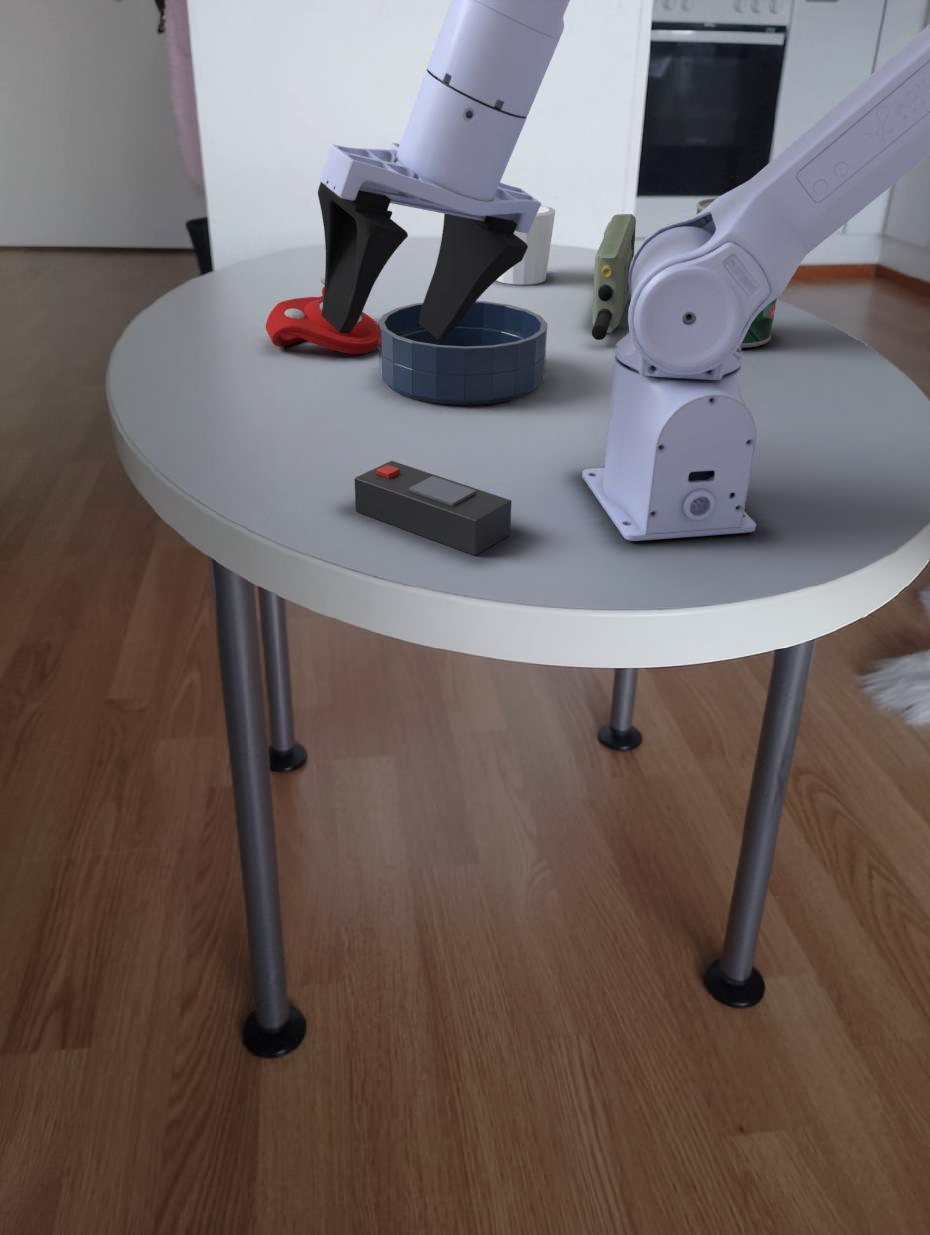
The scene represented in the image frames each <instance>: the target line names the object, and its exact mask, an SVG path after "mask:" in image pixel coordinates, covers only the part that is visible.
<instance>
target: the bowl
mask: <svg viewBox="0 0 930 1235" xmlns="http://www.w3.org/2000/svg"><path fill="white" fill-rule="evenodd" d="M422 305H423V302H417V303H411V304H407V305H403V306H400V307H396V308H394V309H392V310H390V311H388V312H386V313H384V314H382V315H381V317H380V319H379V320H378V321H377V324H378V340H379V345H378V365H379V366H378V370H379V372H378V373H379V374H380V377H381V380H382V381H383V382H385V383H386V384H387V385H388V386H389V387H390V388H391V389H392V390H394V391H395V392H397V393H399V394H401V395H403V396H405V397H407V398H408V397H409V398H411V399H414V400H418V401H423V402H426V403H432V404H441V405H451V406H452V405H453V406H478V405H479V406H480V405H481V406H482V405H490V404H497V403H503V402H508V401H511V400H516V399H518V398H521V397H523V396H525V395H527V394H529V393H531V392H532V391H533V390H534V389H535V388H537V387H538V386H539V385H540V384H542V383H543V382H544V379H545V374H546V358H547V357H546V356H547V341H548V325H549V324H548V322H547V321H546V320H545V319H544V318H543V317H542V315H540V314H538V313H535V312H533V311H531V310H529V309H526V308H523V307H519V306H515V305H511V304H507V303H500V302H493V301H484V300H476V302H475V303H474V304H473V305H472V306H471V308H470V309H469V310H468V311H467V313H466V314H465V315H464V317H463V318H462V319H461V321H460V322H459V323H458V325H457V326H456V327H455V329H454V330H453V331H452V332H451V334H450V335H449V336H448V337H447V339H446V340H445V341H444V340H438V339H436V338H435V337H434V336H433V335H432V334H431V333H429V332H428V331H427V330H426V329H425V328H424V327H422V326H421V325H420V324H419V319H420V313H421V309H422Z"/></svg>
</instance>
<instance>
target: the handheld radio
mask: <svg viewBox="0 0 930 1235" xmlns="http://www.w3.org/2000/svg"><path fill="white" fill-rule="evenodd" d="M636 227H637V218H636V217H635V215H634V214H633V213H621V214H620V213H618V214H614V215H613V216H612V217H611V219H610V221H609V222H608V223H607V225H606V227H605V229H604V232H603V238H602V240H601V243H600V245H599V247H598V249H597V252H596V254H595V257H594V270H593V272H594V274H593V299H592V326H593V327H592V330H591V335H592V338H593V339H594V340H597V341H602V340H604V339H605V338H606V337H607V334H612V333H613V331H614V330H615V329H616V328H618V327H619V325H620V322H621V320H622V317H623V313H624V310H625V308H626V307H627V304H628V300H629V296H630V292H629V282H628V280H629V270H630V265H631V262H632V259H633V257H634V254H635V247H636V246H635V243H636V229H637V228H636Z"/></svg>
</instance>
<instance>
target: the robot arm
mask: <svg viewBox="0 0 930 1235" xmlns="http://www.w3.org/2000/svg"><path fill="white" fill-rule="evenodd" d="M570 1H571V0H450V3H449V5H448V8H447V11H446V14H445V16H444V19H443V22H442V25H441V27H440V31H439V33H438V35H437V38H436V42H435V44H434V47H433V50H432V52H431V55H430V58H429V61H428V64H427V67H426V70H425V73H424V75H423V78H422V81H421V84H420V87H419V89H418V92H417V94H416V98H415V101H414V103H413V105H412V108H411V111H410V115H409V117H408V120H407V122H406V126H405V128H404V131H403V134H402V137H401V140H400V141H399V143H398V142H392V143H391V144H390V147H389V149H383V148H381V149H380V148H359V147H350V146H348V147H347V146H342V145H337V144H334V143H332V144H331V145H330V148H329V151H328V154H327V157H326V160H325V163H324V166H323V169H322V173H321V175H320V179H319V186H318V188H317V189H318V190H317V197H318V200H319V201H318V202H319V206H320V211H321V219H322V224H323V225H322V226H323V233H324V244H325V247H324V248H325V273H324V279H325V285H323V287H324V297H323V306H322V317H323V318H324V319H325V320H326V321H328V322H329V323H330V324H331V325H332V326H333V327H334V328H335V329H336V330H337V331H338V332H340V333H346V334H350V333H351V331H352V330H353V328H354V327H355V325H356V323H357V322H358V320H359V318H360V316H361V313H362V312H364V308H365V306H366V303H367V302H368V299H369V297H370V294H371V292H372V290H373V287H374V285H375V283H376V282H377V280H378V278H379V276H380V274H381V272H382V271H383V269H384V268H385V265H387V263H388V261H389V260H390V259H391V258H392V256H393V255H394V253H395V252H396V251H397V250H398V248H399V247H400V246H401V245H402V244H403V243H404V241H406V239H407V238H408V237H409V234H408V232H407V231H406V230H405V229H404V228H403V227H401V225H399V224H398V223H397V222H395V221H394V220H393V219H392V215H393V211H392V210H389V207H390V204H393V205H398V206H403V207H408V208H414V209H419V210H425V211H429V212H435V213H439V214H443V226H442V234H441V241H440V244H439V245H440V246H439V251H438V255H437V260H436V264H435V267H434V271H433V274H432V277H431V279H430V282H429V285H428V287H427V291H426V294H425V297H424V300H423V302H422V303H423V305H422V309H421V313H420V319H419V324H420V325H421V326H422V327H424V328H425V329H426V330H427V331H428V332H429V333H431V334H432V335H433V336H434V337H435V338H436V339H438V340H444V341H445V340H446V339H447V337H448V336H449V335H450V334H451V332H452V331H453V330H454V329H455V327H456V326H457V325H458V323H459V322H460V321H461V319H462V318H463V317H464V315H465V314H466V313H467V311H468V310H469V309H470V308H471V306H472V305H473V304H474V303H475V302H476V301H478V299H479V298H480V297H481V296H482V295H483V294H484V293H485V292H486V291H487V290H488V289H489V287H491V285H493V284H494V283H495V282H497V281H496V280H497V279H498V278H499V277H500V276H501V275H503V274H504V273H505V272H506V271H508V270H509V269H510V268H512V267H513V266H515V265H516V264H518V263H519V262H521V261H522V259H523V257H524V255H525V253H526V250H527V248H528V246H527V244H526V243H525V242H524V241H523V240H521V239H520V238H519V237H517V236H516V235H515V234H514V232H515V231H518V232H522V233H528V232H529V230H530V228H531V226H532V223H533V221H534V219H535V217H536V215H537V212H538V210H539V208H540V206H541V205H542V202H540V201H539V200H538V199H536V198H535V197H534V196H532V195H531V194H529V193H528V192H526V191H525V190H524V189H522V188H520V187H517V186H513V185H509V184H507V183H503V182H501V181H502V179H503V176H504V174H505V172H506V169H507V166H508V164H509V162H510V160H511V157H512V155H513V152H514V150H515V147H516V145H517V143H518V140H519V138H520V136H521V133H522V131H523V129H524V126H525V124H526V121H527V119H528V116H529V114H530V111H531V108H532V106H533V104H534V102H535V100H536V97H537V94H538V92H539V89H540V88H541V85H542V82H543V80H544V78H545V75H546V73H547V70H548V68H549V66H550V64H551V61H552V59H553V57H554V54H555V52H556V49H557V47H558V45H559V42H560V40H561V37H562V35H563V32H564V29H565V20H564V16H565V14H566V11H567V9H568V6H569V4H570ZM929 157H930V23H929V24H927V25H926V26H925V27H924V28H923V29H922V30H920V31H919V33H917V34H916V35H915V36H914V37H913V38H911V39H910V41H908V42H907V43H906V44H904V46H903V47H902V48H900V49H899V50H898V51H897V52H896V53H894V54H893V55H892V56H891V57H890V58H889V59H888V60H886V61H885V62H883V64H882V65H880V67H878V68H877V69H876V70H875V71H873V73H871V74H870V75H869V76H868V77H867V78H866V79H864V81H862V82H861V83H860V84H859V85H857V87H855V88H854V89H853V90H852V91H850V93H848V94H847V95H846V96H845V97H844V98H843V99H841V100H840V101H839V102H838V103H837V104H836V105H835V106H833V107H832V108H831V109H830V110H828V112H826V113H825V114H824V115H823V116H821V118H820V119H819V120H817V121H816V122H815V123H814V124H813V125H812V126H810V127H809V128H808V129H807V130H805V131H804V132H803V133H802V134H801V135H800V136H799V137H798V138H797V139H795V140H794V141H793V142H791V144H790V145H789V146H787V147H786V148H785V149H784V150H783V151H781V152H780V154H778V155H777V156H776V157H775V158H774V159H773V160H771V161H770V162H769V163H767V165H765V166H764V167H763V168H762V169H761V170H759V171H758V172H757V173H756V174H755V175H754V176H753V177H751V178H750V179H749V180H747V181H745V182H744V183H742V184H739V185H738V186H736V187H734V188H732V189H731V190H729V191H727V192H724V193H723V194H721V195H720V196H718V197H716V198H717V199H715V200H714V201H713V202H712V203H711V204H710V205H709V206H707V207H706V208H705V209H704V210H703V211H701V212H700V213H698V214H697V213H696V214H697V215H696V214H695V215H693V216H692V217H689V218H686V219H684V220H683V219H682V220H680V221H675V222H672V223H668V224H665V225H663V226H661V227H659V228H658V229H656V230H654V231H653V232H651V233H650V234H649V235H648V236H647V237H646V238H645V239H644V240H643V241H642V242H641V244H640V245H639V246H638V248H637V249H636V251H635V252H634V257H633V259H632V262H631V265H630V270H629V280H628V282H629V292H630V293H629V295H630V303H629V305H628V312H627V313H628V314H627V324H628V330H629V332H628V333H627V334H626V335H625V336H623V337H622V338H621V339H619V341H617V342H616V344H615V347H614V360H613V372H612V381H611V393H610V403H609V404H610V405H609V413H608V424H607V437H606V447H605V456H604V457H605V458H604V467H596V468H593V467H592V468H585V469H583V470H582V474H581V477H582V479H583V480H584V482H585V483H586V485H587V486H588V488H589V489H590V490H591V492H592V493H593V495H594V496H595V498H596V499H597V501H598V503H600V505H601V506H602V508H603V510H604V511H605V512H606V514H607V515H608V518H610V519H611V521H612V523H613V524H614V525H615V527H616V528H617V530H618V531H619V533H620V534H621V536H622V537H623V538H624V539H625V541H630V542H640V541H653V540H669V539H681V538H694V537H707V536H721V535H736V534H747V533H749V534H750V533H754V532H755V531H756V528H757V523H756V522H755V521H754V520H753V519H752V518H751V517H750V516H749V514H747V512H746V510H745V508H746V503H747V496H748V491H749V485H750V480H751V475H752V474H751V473H752V468H753V461H754V456H755V451H756V445H757V436H758V434H757V433H758V432H757V426H756V420H755V418H754V416H753V413H752V412H751V410H750V408H749V407H748V405H747V404H746V403H745V401H744V398H743V396H742V394H741V393H742V392H741V385H740V378H741V370H742V363H743V358H744V353H743V352H742V348H741V347H740V345H741V343H742V341H743V339H744V337H745V335H746V333H747V331H748V329H749V327H750V325H751V323H752V322H753V320H754V319H755V318H756V316H757V315H758V314H759V313H760V312H761V311H762V310H763V309H764V308H765V307H766V306H767V305H768V304H770V303H771V302H772V301H773V300H775V299H776V298H777V299H778V297H780V296H781V294H783V292H784V291H785V290H786V288H787V286H788V284H790V281H791V279H792V278H793V276H794V275H795V273H796V272H797V270H798V268H799V267H800V264H802V262H803V260H804V259H805V258H806V256H807V255H808V254H810V253H811V252H812V251H813V250H814V249H815V248H817V247H818V246H819V245H821V244H822V243H823V242H824V241H826V240H827V239H828V238H830V237H831V236H832V235H833V234H834V233H835V232H837V231H838V230H839V229H840V228H842V227H843V226H844V225H845V224H846V223H848V222H849V221H851V220H852V219H853V218H854V217H855V216H856V215H858V214H859V213H860V212H862V211H863V210H864V209H865V208H866V207H868V206H869V205H871V203H873V202H874V201H875V200H876V199H878V198H879V197H881V195H882V194H884V193H885V192H887V191H888V189H890V188H892V186H894V185H895V184H897V182H899V181H900V180H901V179H902V178H904V177H905V176H906V175H907V174H908V173H910V172H911V171H912V170H914V169H915V168H916V167H917V166H918V165H920V164H921V163H922V162H923V161H925V160H926V159H927V158H929Z"/></svg>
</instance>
